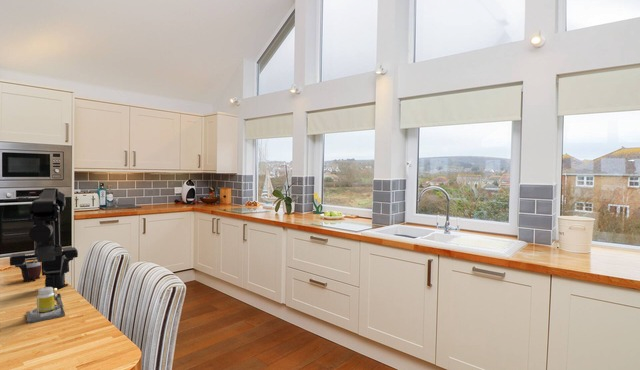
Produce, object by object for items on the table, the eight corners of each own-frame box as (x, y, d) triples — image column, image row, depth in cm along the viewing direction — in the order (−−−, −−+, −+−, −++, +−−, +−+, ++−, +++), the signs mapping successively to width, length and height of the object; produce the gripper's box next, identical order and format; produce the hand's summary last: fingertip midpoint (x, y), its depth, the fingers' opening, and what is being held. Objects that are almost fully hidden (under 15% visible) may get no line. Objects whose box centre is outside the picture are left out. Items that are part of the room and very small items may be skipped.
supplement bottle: (57, 311, 124) (57, 287, 124) (42, 316, 120) (41, 291, 119) (49, 309, 126) (49, 285, 126) (34, 313, 122) (34, 289, 121)
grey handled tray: (25, 301, 135) (24, 291, 135) (59, 295, 142) (59, 286, 142) (27, 323, 116) (27, 312, 116) (67, 315, 123) (67, 304, 123)
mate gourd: (25, 283, 156) (24, 249, 156) (18, 280, 160) (17, 247, 160) (45, 279, 162) (44, 246, 162) (38, 276, 167) (37, 244, 166)
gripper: (9, 243, 112) (10, 292, 113) (79, 237, 125) (80, 280, 126) (9, 237, 121) (10, 282, 122) (75, 232, 133) (75, 272, 134)
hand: (45, 279), depth 125 cm, fingers open, 9 cm apart
